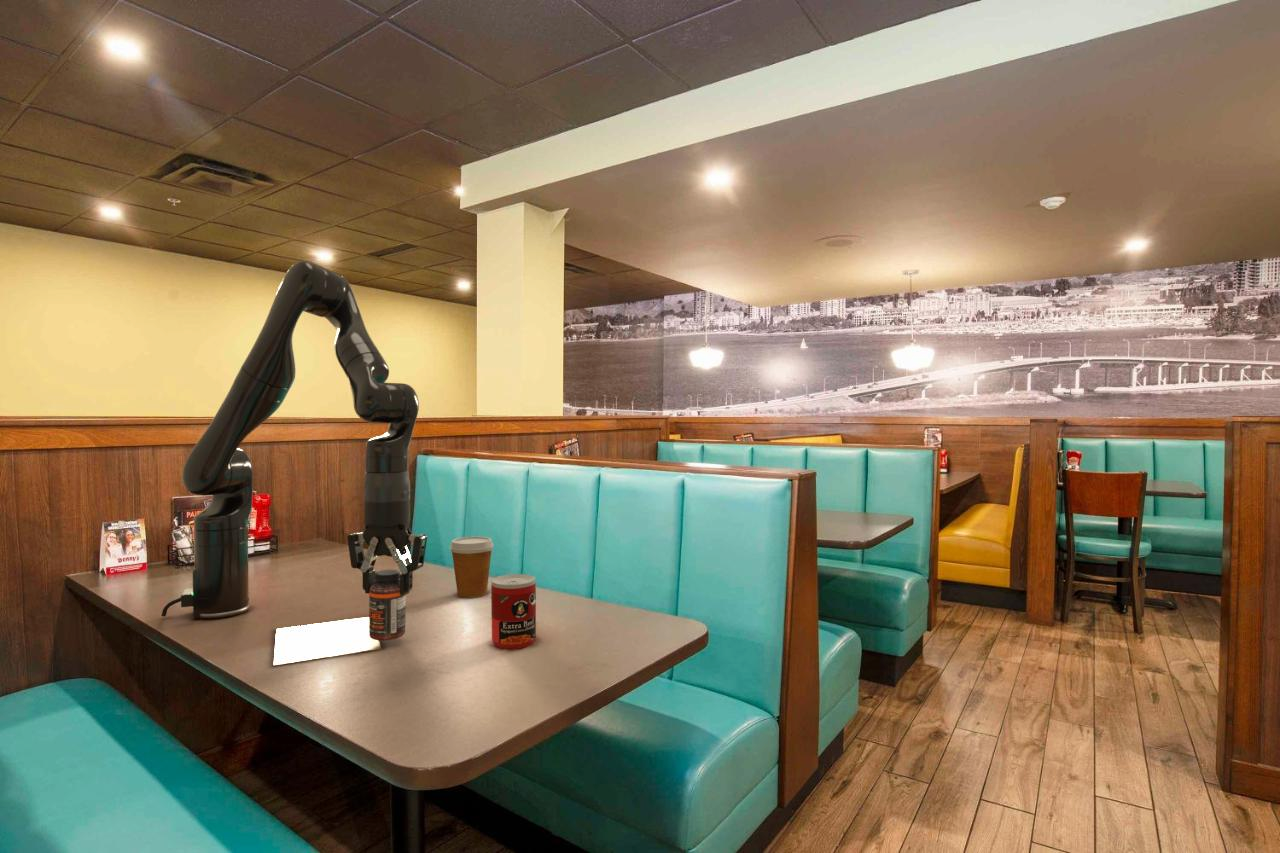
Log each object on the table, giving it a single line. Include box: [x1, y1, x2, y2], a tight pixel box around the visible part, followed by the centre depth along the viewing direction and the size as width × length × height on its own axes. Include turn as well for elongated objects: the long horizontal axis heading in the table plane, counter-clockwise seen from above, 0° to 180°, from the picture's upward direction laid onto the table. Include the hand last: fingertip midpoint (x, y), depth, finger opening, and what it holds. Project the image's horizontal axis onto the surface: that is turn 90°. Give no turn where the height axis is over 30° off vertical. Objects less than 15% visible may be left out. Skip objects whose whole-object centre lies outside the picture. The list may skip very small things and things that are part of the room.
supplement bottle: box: [368, 568, 407, 642], centre depth 116 cm, size 6×6×11 cm
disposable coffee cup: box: [449, 536, 495, 599], centre depth 147 cm, size 10×10×12 cm
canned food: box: [490, 573, 537, 650], centre depth 116 cm, size 8×8×11 cm
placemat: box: [273, 616, 382, 667], centre depth 118 cm, size 16×20×1 cm
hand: (387, 592), depth 116 cm, fingers closed on supplement bottle, 6 cm apart
